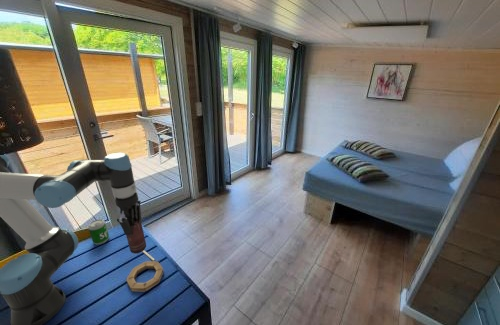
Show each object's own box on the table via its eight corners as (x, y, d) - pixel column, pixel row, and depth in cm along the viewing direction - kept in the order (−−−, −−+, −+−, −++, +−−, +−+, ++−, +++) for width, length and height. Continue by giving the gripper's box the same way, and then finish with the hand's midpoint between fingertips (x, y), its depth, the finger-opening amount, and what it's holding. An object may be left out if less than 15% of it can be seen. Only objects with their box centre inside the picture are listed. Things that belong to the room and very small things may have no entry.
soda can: (97, 247, 111) (91, 229, 107) (90, 241, 115) (84, 224, 110) (112, 239, 117) (107, 221, 113) (105, 233, 121) (100, 216, 116)
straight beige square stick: (154, 260, 105) (154, 259, 105) (153, 261, 105) (153, 260, 104) (143, 250, 110) (143, 249, 110) (142, 251, 110) (142, 250, 110)
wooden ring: (122, 291, 90) (121, 288, 89) (137, 264, 103) (137, 260, 102) (155, 291, 90) (154, 288, 89) (166, 264, 103) (166, 261, 102)
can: (140, 255, 86) (134, 228, 81) (127, 252, 87) (119, 225, 82) (150, 244, 92) (144, 218, 86) (137, 242, 93) (130, 216, 87)
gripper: (125, 204, 73) (138, 255, 82) (144, 185, 85) (153, 231, 95) (103, 204, 73) (118, 255, 82) (125, 184, 85) (136, 230, 95)
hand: (137, 242), depth 88 cm, fingers closed
